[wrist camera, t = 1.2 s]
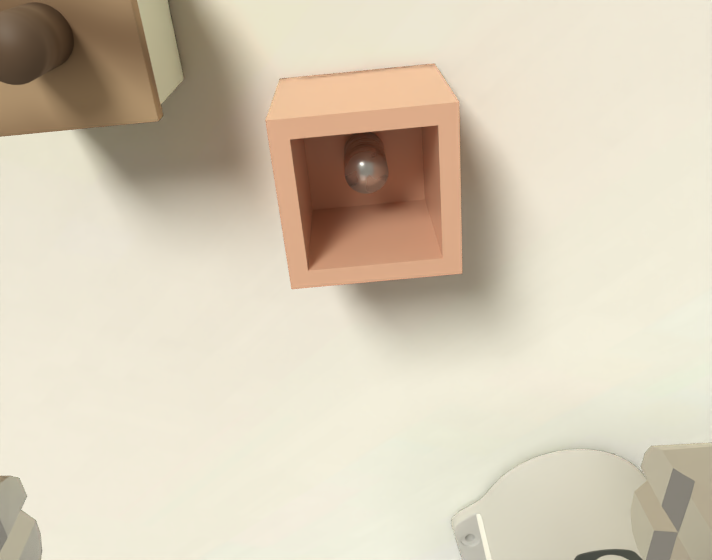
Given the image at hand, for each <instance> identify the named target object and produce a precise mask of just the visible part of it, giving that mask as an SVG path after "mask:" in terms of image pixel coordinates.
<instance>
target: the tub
mask: <svg viewBox="0 0 712 560" xmlns="http://www.w3.org/2000/svg"><path fill="white" fill-rule="evenodd" d="M137 2H138V7H139V11H140V16H141V20H142V25H143V29H144V33H145V38H146V42H147V47H148V51H149V55H150V60H151V64H152V69H153V73H154V78H155V82H156V86H157V91H158V95H159V100H160V104H162V103H163V102H164V101H165V99H166V98H167V97H168V96H169V95H170V94H171V93H172V92H173V91H174V90H175V88H176V87H177V86H178V85H179V84H180V83H181V82H182V81H183V80H184V77H183V72H182V67H181V62H180V58H179V53H178V48H177V43H176V38H175V33H174V29H173V24H172V19H171V14H170V9H169V4H168V0H137Z"/></svg>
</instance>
